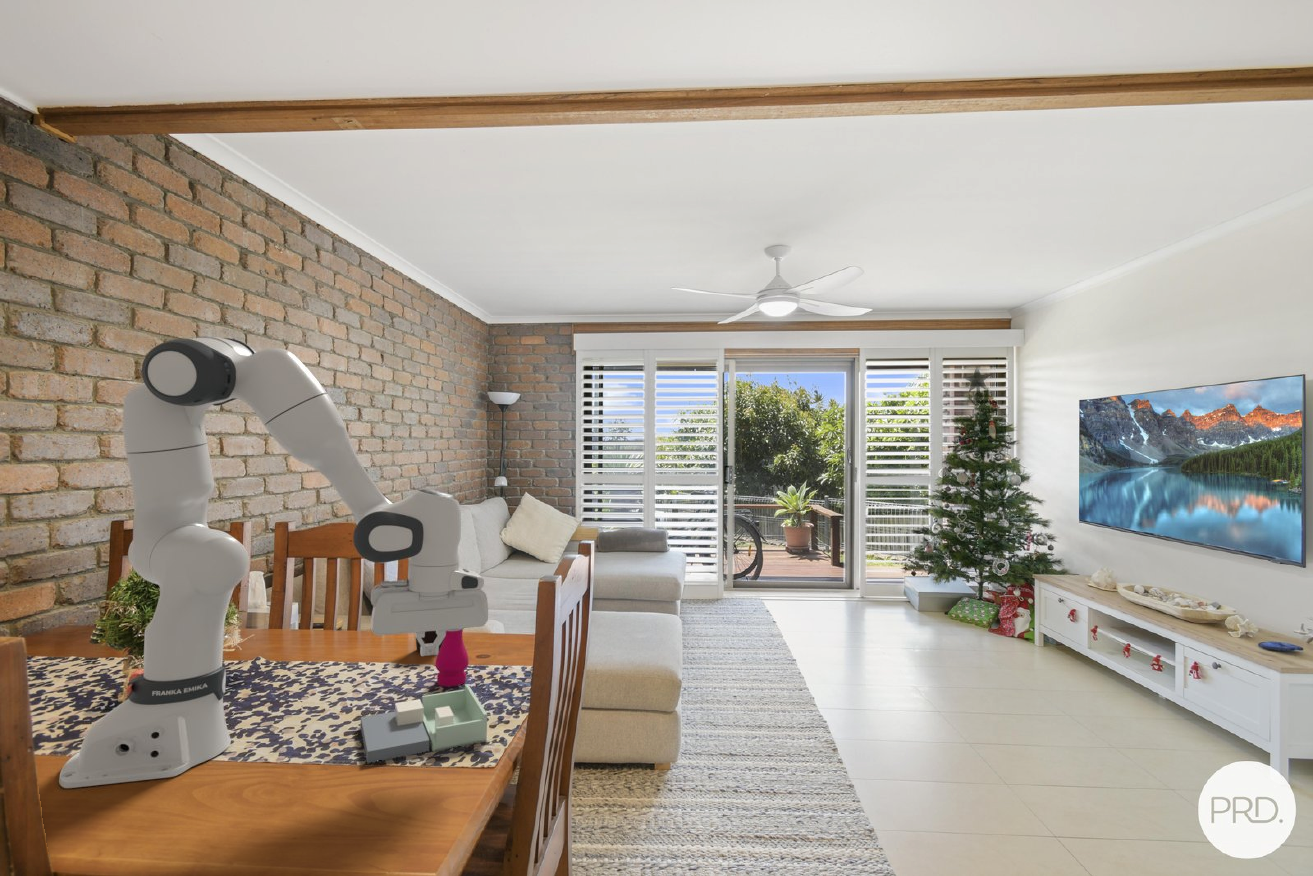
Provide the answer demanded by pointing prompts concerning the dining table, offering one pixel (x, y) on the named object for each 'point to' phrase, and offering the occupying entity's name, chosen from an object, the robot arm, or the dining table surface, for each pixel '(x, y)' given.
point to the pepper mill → (452, 659)
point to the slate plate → (391, 737)
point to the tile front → (443, 717)
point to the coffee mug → (428, 639)
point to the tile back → (409, 712)
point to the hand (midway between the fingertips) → (429, 654)
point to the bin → (455, 719)
